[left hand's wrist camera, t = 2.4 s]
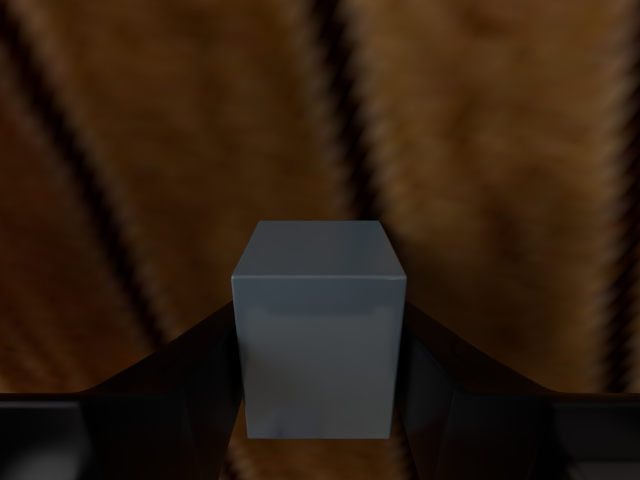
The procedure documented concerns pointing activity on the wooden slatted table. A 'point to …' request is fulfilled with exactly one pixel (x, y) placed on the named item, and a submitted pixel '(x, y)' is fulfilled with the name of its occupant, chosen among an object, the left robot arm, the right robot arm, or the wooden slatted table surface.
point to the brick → (319, 329)
